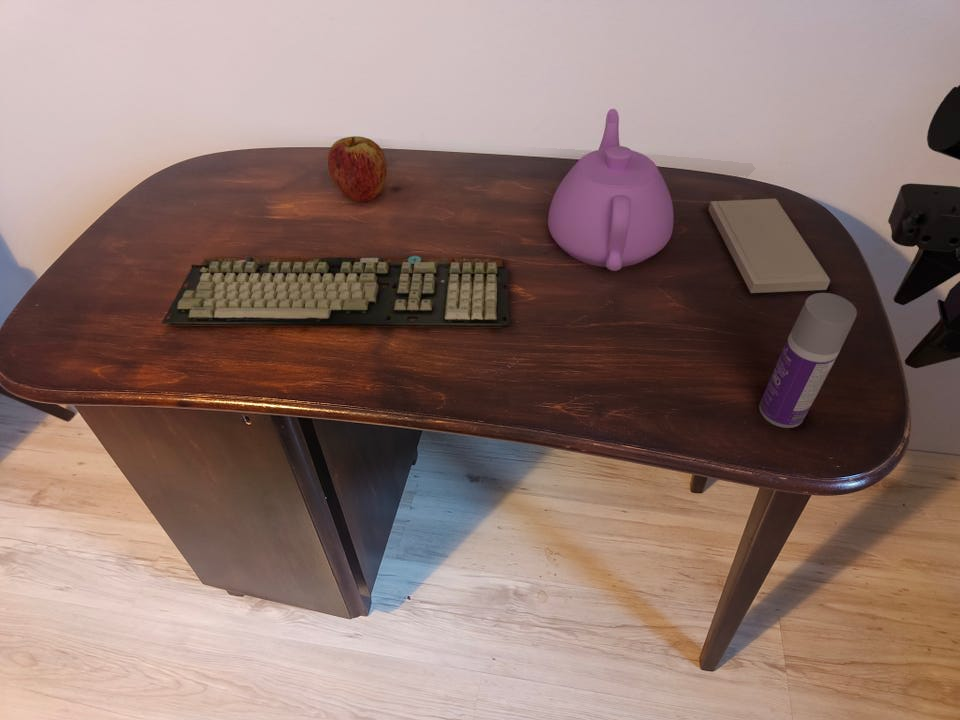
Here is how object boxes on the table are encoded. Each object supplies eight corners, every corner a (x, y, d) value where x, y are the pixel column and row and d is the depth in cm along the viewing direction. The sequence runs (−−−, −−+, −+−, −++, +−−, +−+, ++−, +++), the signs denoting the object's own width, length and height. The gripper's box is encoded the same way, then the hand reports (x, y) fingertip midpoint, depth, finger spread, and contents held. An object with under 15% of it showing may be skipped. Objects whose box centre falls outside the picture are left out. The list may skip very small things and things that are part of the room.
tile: (826, 290, 84) (831, 278, 82) (750, 293, 84) (754, 281, 82) (772, 207, 98) (776, 196, 96) (708, 210, 98) (710, 198, 96)
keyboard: (163, 329, 82) (155, 315, 81) (201, 261, 93) (195, 246, 91) (510, 330, 80) (510, 315, 78) (510, 260, 90) (511, 245, 89)
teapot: (680, 287, 85) (703, 197, 75) (547, 285, 86) (552, 196, 77) (656, 189, 103) (672, 105, 93) (546, 188, 104) (550, 106, 94)
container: (749, 404, 71) (793, 300, 60) (782, 390, 72) (830, 286, 61) (780, 434, 68) (831, 330, 57) (813, 418, 69) (870, 315, 58)
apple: (325, 206, 102) (311, 148, 95) (349, 178, 108) (338, 121, 101) (377, 214, 100) (367, 155, 93) (399, 185, 106) (391, 127, 99)
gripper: (932, 102, 54) (818, 244, 66) (975, 212, 41) (824, 363, 53) (1059, 152, 53) (921, 287, 65) (1142, 279, 41) (952, 418, 52)
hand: (903, 332), depth 59 cm, fingers open, 9 cm apart
